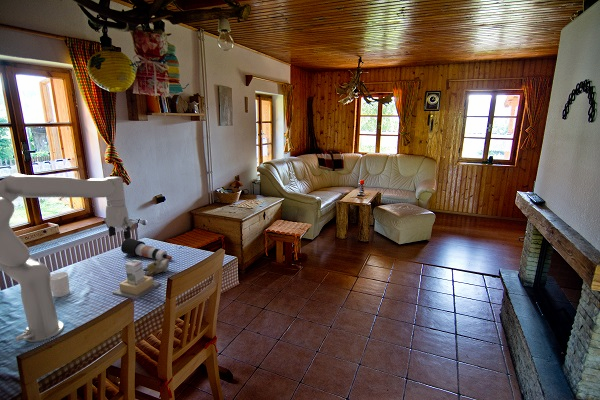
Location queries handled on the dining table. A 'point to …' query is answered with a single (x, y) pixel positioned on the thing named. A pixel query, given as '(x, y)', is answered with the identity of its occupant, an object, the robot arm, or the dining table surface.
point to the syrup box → (134, 272)
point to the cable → (143, 250)
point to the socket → (136, 288)
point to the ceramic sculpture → (156, 267)
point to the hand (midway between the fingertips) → (119, 236)
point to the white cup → (59, 284)
